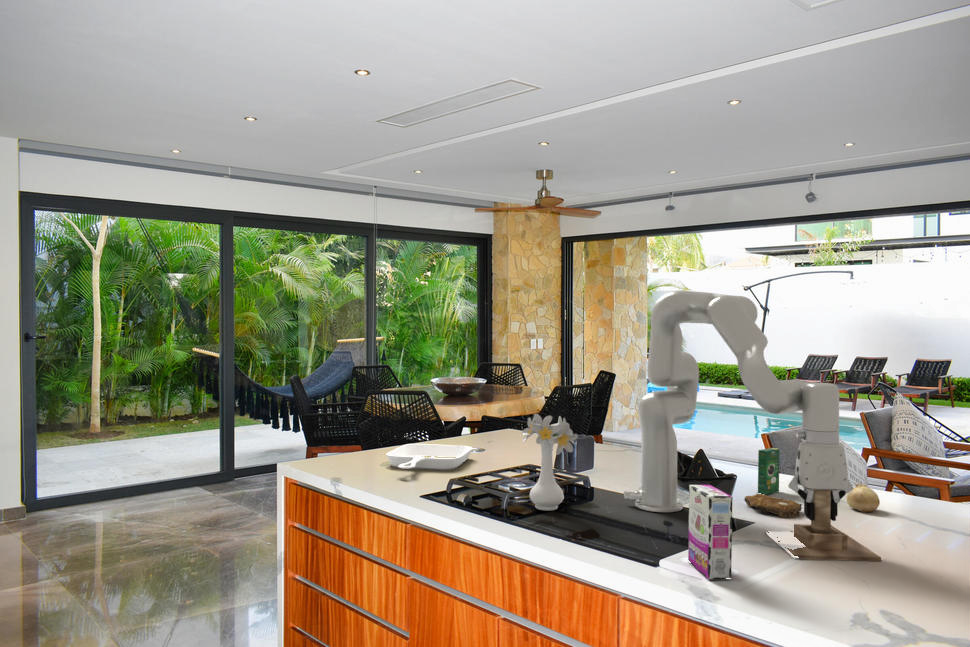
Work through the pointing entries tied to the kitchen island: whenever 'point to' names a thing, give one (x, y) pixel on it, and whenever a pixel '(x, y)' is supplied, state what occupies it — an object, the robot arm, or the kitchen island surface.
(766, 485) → the coffee box
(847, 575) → the kitchen island surface
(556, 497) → the flower vase
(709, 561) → the candy bar box
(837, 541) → the socket block
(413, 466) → the pan
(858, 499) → the onion
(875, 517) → the kitchen island surface
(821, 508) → the peg
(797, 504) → the decorative rock
